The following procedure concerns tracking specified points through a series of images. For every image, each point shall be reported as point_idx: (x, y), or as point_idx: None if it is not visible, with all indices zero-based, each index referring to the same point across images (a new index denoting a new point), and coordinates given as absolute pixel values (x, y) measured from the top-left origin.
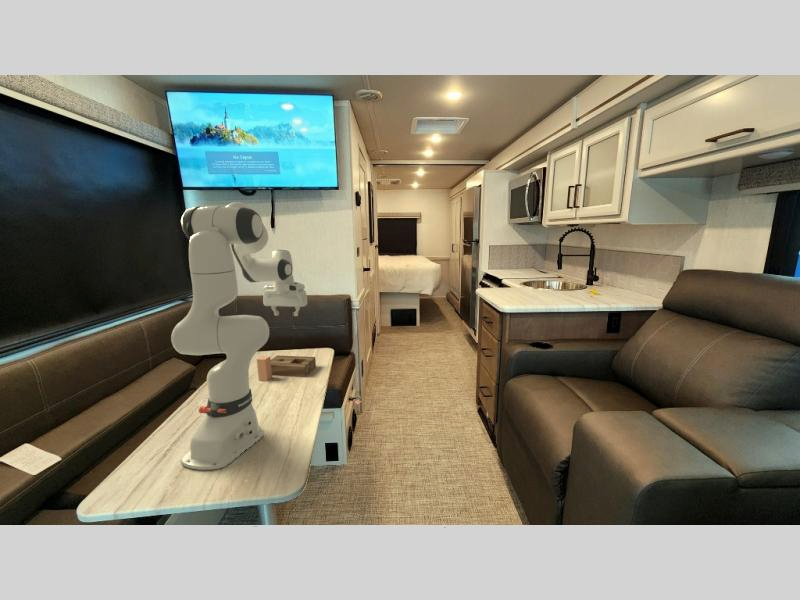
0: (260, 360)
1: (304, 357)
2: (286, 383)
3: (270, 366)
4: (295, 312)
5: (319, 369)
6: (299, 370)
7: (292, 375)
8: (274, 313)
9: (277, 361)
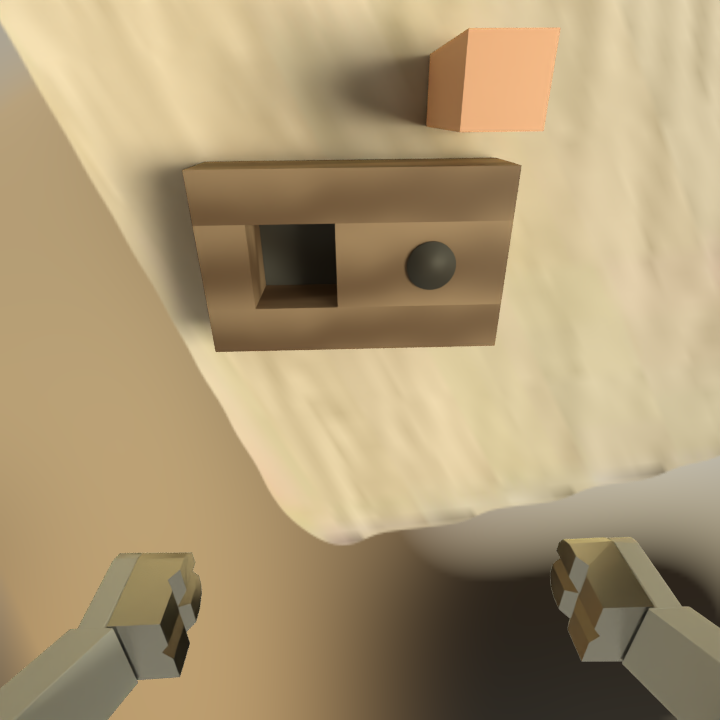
0: (517, 29)
1: (285, 335)
2: (275, 40)
3: (441, 118)
4: (97, 626)
5: (189, 292)
6: (232, 166)
7: (294, 161)
8: (650, 570)
9: (441, 240)
